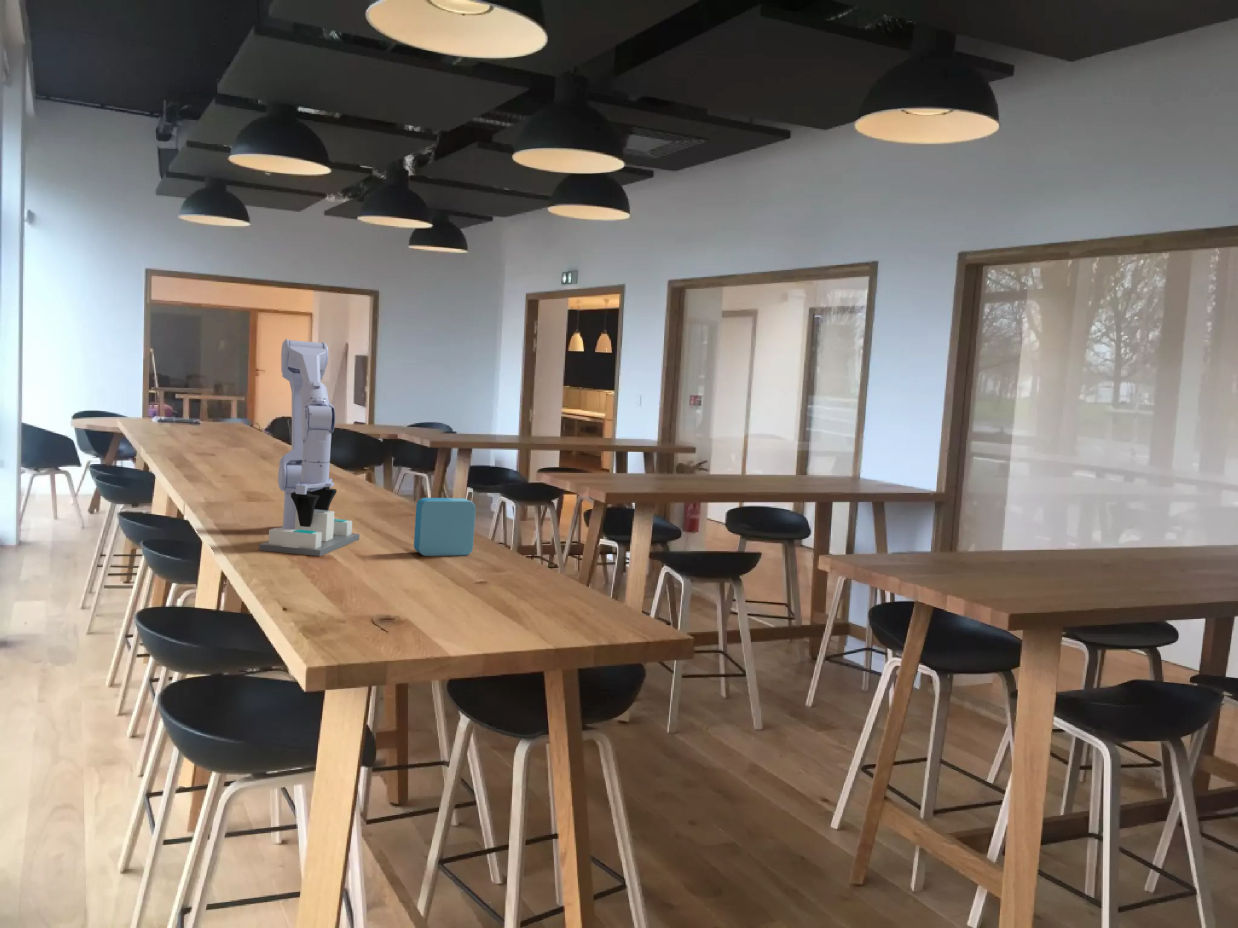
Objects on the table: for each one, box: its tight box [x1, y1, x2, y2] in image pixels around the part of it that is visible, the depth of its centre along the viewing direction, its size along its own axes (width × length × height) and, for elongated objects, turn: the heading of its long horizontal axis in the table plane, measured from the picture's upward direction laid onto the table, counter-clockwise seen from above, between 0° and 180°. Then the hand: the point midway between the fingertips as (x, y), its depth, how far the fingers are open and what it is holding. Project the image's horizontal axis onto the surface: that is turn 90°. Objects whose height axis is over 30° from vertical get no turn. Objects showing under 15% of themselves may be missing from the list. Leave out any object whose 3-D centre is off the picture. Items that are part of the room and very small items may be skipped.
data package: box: [413, 497, 476, 557], centre depth 209 cm, size 12×4×12 cm, turn 118°
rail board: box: [258, 518, 360, 557], centre depth 208 cm, size 22×13×4 cm, turn 175°
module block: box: [295, 509, 335, 542], centre depth 208 cm, size 4×7×6 cm, turn 84°
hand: (312, 523), depth 208 cm, fingers open, 7 cm apart
